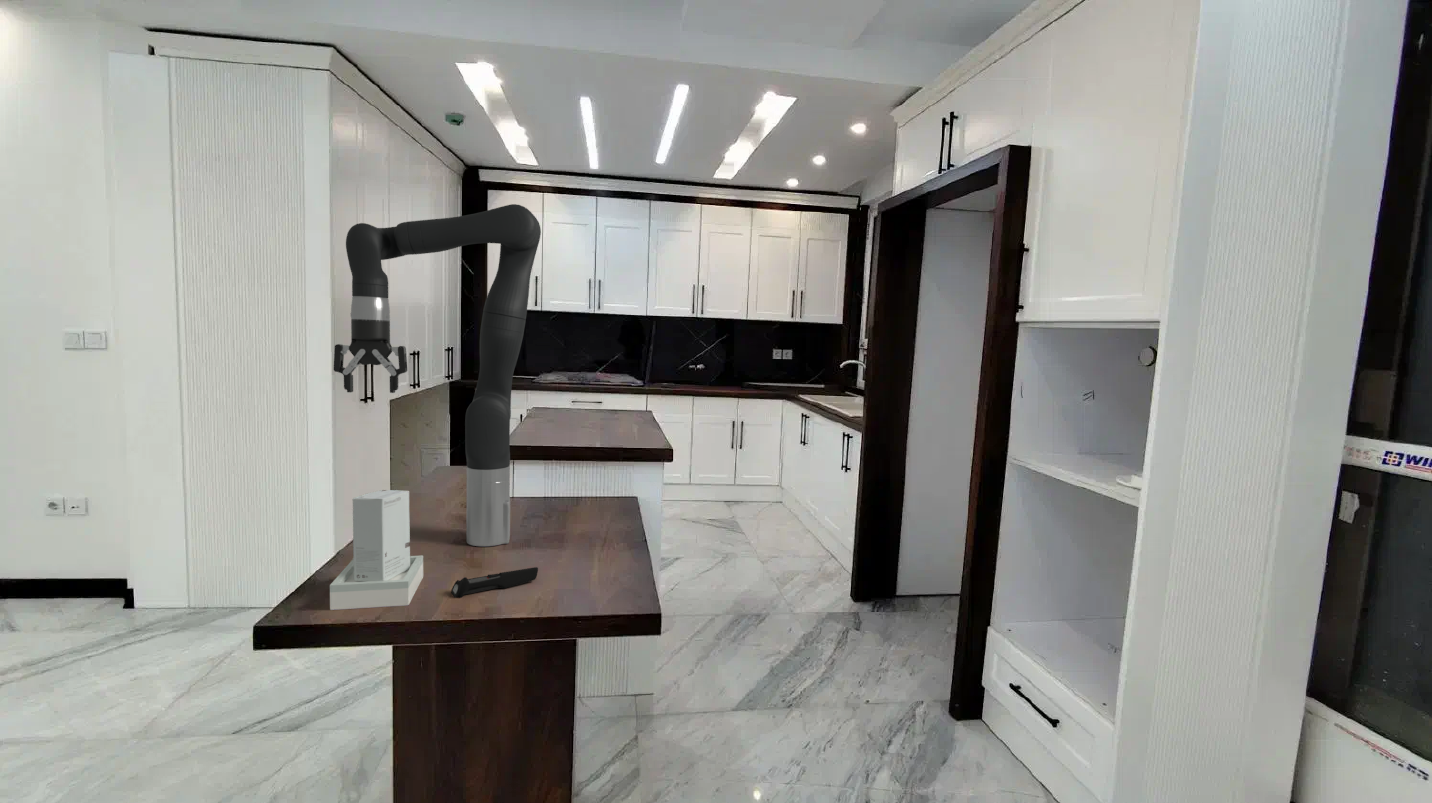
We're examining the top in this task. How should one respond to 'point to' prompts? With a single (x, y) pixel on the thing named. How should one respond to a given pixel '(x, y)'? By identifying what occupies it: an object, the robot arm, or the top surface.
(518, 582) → the electric trimmer
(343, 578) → the white open tray
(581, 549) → the top surface
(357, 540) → the skincare box
